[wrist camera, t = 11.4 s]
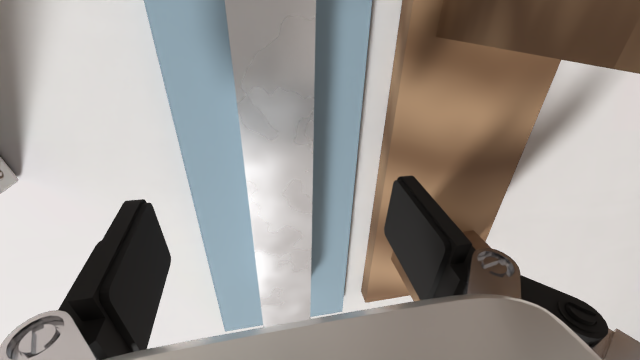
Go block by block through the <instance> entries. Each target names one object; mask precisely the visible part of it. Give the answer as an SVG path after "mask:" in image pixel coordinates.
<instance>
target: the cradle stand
mask: <svg viewBox="0 0 640 360" xmlns="http://www.w3.org/2000/svg"><path fill="white" fill-rule="evenodd" d="M561 60H567V61H572V62H578V63H583V64H589V65H594V66H600V67H606V68H611V69H617V70H622V71H628V72H633V73H639V74H640V0H402V7H401V14H400V21H399V28H398V35H397V43H396V50H395V57H394V64H393V71H392V78H391V85H390V92H389V99H388V106H387V113H386V120H385V127H384V134H383V141H382V148H381V155H380V162H379V169H378V176H377V183H376V190H375V197H374V204H373V212H372V219H371V226H370V233H369V240H368V247H367V254H366V261H365V268H364V275H363V282H362V289H361V292H362V295H363V297H364V300H365V303H366V302H372V301H378V300H384V299H390V298H396V297H402V296H408V295H411V297H412V299H413V301H421V300H420V299H419V297H418V295H417V293H416V291H415V290H414V288H413V286H412V284H411V282H410V280H409V279H408V277H407V275H406V273H405V271H404V269H403V268H402V266H401V264H400V262H399V260H398V258H397V257H396V255H395V253H394V251H393V249H392V247H391V246H390V244H389V242H388V240H387V238H386V236H385V233H384V226H385V221H386V216H387V211H388V206H389V202H390V197H391V192H392V187H393V183H394V181H395V180H397V179H398V177H400V176H411V175H412V176H414V177H415V178H416V179H417V180H418V182H419V183H420V184H421V185H422V186H423V187H424V188H425V190H426V191H427V192H428V193H429V194H430V195H431V197H432V198H433V199H434V200H435V201H436V202H437V203H438V205H439V206H440V207H441V208H442V209H443V210H444V212H445V213H446V214H447V215H448V216H449V217H450V218H451V220H452V221H453V222H454V223H455V224H456V225H457V227H458V228H459V229H460V230H461V231H462V232H463V233H464V235H465V236H466V237H467V238H468V239H469V240H470V242H471V243H472V246H473V247H474V248H475V249H476V250H477V249H480V248H490V247H489V245H488V244H487V243H486V242H485V241H486V239H487V236H488V234H489V232H490V229H491V227H492V224H493V222H494V220H495V217H496V215H497V212H498V210H499V208H500V205H501V203H502V200H503V198H504V196H505V193H506V191H507V188H508V186H509V184H510V181H511V179H512V176H513V174H514V172H515V169H516V167H517V164H518V162H519V160H520V157H521V155H522V152H523V150H524V148H525V145H526V143H527V141H528V138H529V136H530V133H531V131H532V129H533V126H534V124H535V121H536V119H537V117H538V114H539V112H540V109H541V107H542V105H543V102H544V100H545V97H546V95H547V93H548V90H549V88H550V85H551V83H552V81H553V78H554V76H555V73H556V71H557V69H558V66H559V64H560V61H561Z"/></svg>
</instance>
